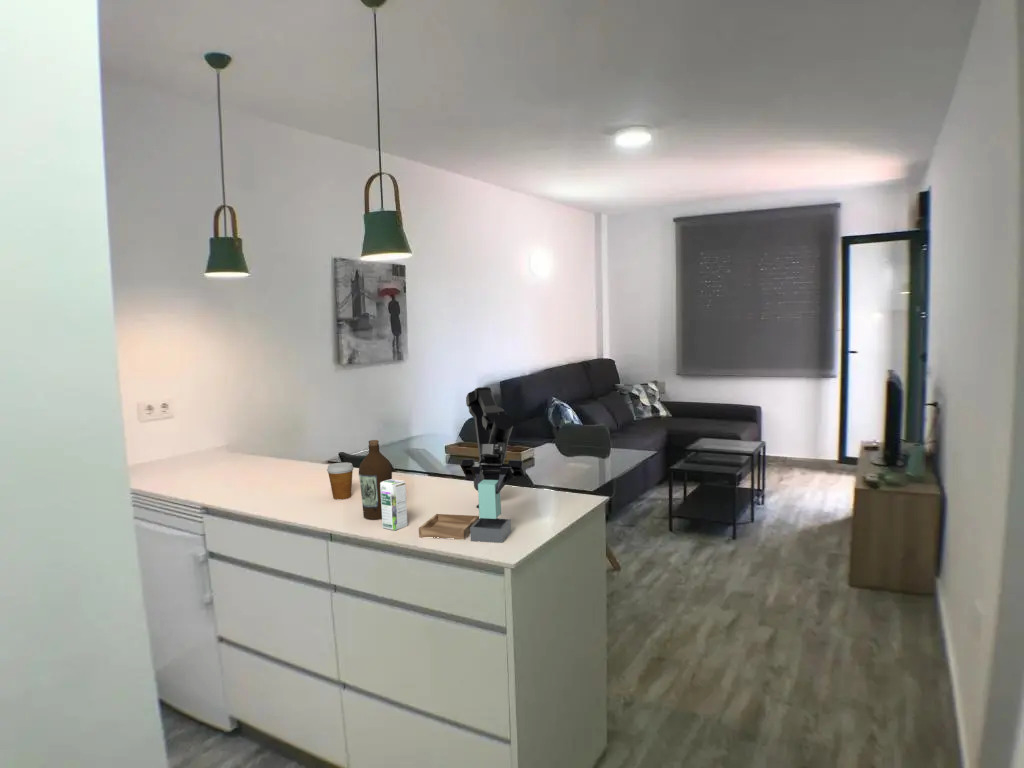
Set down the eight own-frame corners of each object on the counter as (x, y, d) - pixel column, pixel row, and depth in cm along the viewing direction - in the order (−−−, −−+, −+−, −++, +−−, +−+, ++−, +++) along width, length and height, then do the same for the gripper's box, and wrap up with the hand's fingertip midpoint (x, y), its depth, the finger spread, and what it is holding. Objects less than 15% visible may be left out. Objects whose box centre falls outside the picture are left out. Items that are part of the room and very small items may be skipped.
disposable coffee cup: (323, 498, 245) (321, 465, 244) (346, 492, 252) (344, 461, 251) (337, 502, 239) (335, 469, 237) (360, 496, 245) (358, 464, 244)
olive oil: (376, 509, 228) (371, 436, 225) (401, 512, 223) (396, 438, 220) (354, 518, 219) (349, 442, 216) (380, 522, 213) (375, 444, 211)
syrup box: (381, 528, 207) (378, 482, 206) (395, 523, 212) (392, 478, 211) (395, 531, 204) (392, 484, 202) (408, 525, 209) (405, 479, 207)
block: (484, 512, 198) (483, 479, 197) (501, 513, 196) (499, 480, 195) (479, 518, 193) (477, 484, 192) (496, 518, 192) (494, 484, 191)
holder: (481, 530, 201) (480, 517, 201) (511, 532, 199) (510, 518, 198) (470, 541, 192) (470, 527, 192) (502, 542, 190) (501, 529, 189)
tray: (437, 522, 211) (436, 513, 210) (479, 524, 207) (479, 515, 206) (419, 537, 197) (418, 528, 197) (464, 539, 193) (463, 530, 193)
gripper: (460, 431, 198) (449, 477, 189) (521, 432, 193) (512, 479, 184) (470, 452, 207) (460, 497, 197) (529, 453, 202) (521, 499, 192)
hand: (487, 493), depth 193 cm, fingers closed on block, 5 cm apart
